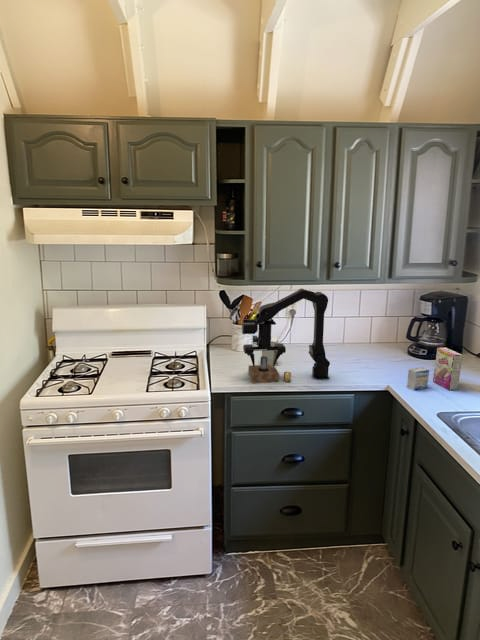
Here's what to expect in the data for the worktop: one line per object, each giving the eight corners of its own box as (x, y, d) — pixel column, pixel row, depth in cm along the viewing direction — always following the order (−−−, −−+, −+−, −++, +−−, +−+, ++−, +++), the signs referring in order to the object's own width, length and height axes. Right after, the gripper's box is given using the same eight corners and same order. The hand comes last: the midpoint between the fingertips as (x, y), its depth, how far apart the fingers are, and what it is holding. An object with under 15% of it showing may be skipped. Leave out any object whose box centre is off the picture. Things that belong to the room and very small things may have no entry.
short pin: (289, 379, 215) (290, 371, 214) (291, 382, 212) (291, 373, 211) (282, 379, 215) (283, 371, 214) (284, 382, 212) (284, 374, 211)
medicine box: (413, 390, 205) (415, 372, 203) (406, 387, 209) (408, 368, 207) (427, 388, 208) (429, 369, 206) (420, 384, 212) (422, 366, 210)
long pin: (266, 376, 219) (266, 355, 216) (267, 378, 215) (268, 358, 213) (259, 376, 218) (260, 356, 216) (260, 379, 215) (261, 358, 213)
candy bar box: (432, 381, 216) (436, 347, 212) (441, 380, 218) (445, 346, 214) (448, 390, 206) (453, 355, 202) (458, 389, 207) (463, 354, 203)
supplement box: (275, 366, 233) (276, 341, 230) (261, 364, 234) (261, 340, 231) (277, 361, 240) (278, 337, 237) (263, 360, 241) (264, 336, 238)
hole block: (273, 372, 223) (273, 364, 222) (278, 382, 212) (279, 373, 211) (248, 373, 222) (248, 365, 221) (252, 383, 210) (252, 374, 209)
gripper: (281, 328, 221) (279, 360, 224) (241, 329, 218) (241, 361, 222) (286, 335, 210) (285, 368, 214) (245, 336, 207) (244, 369, 211)
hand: (263, 366), depth 215 cm, fingers open, 9 cm apart
